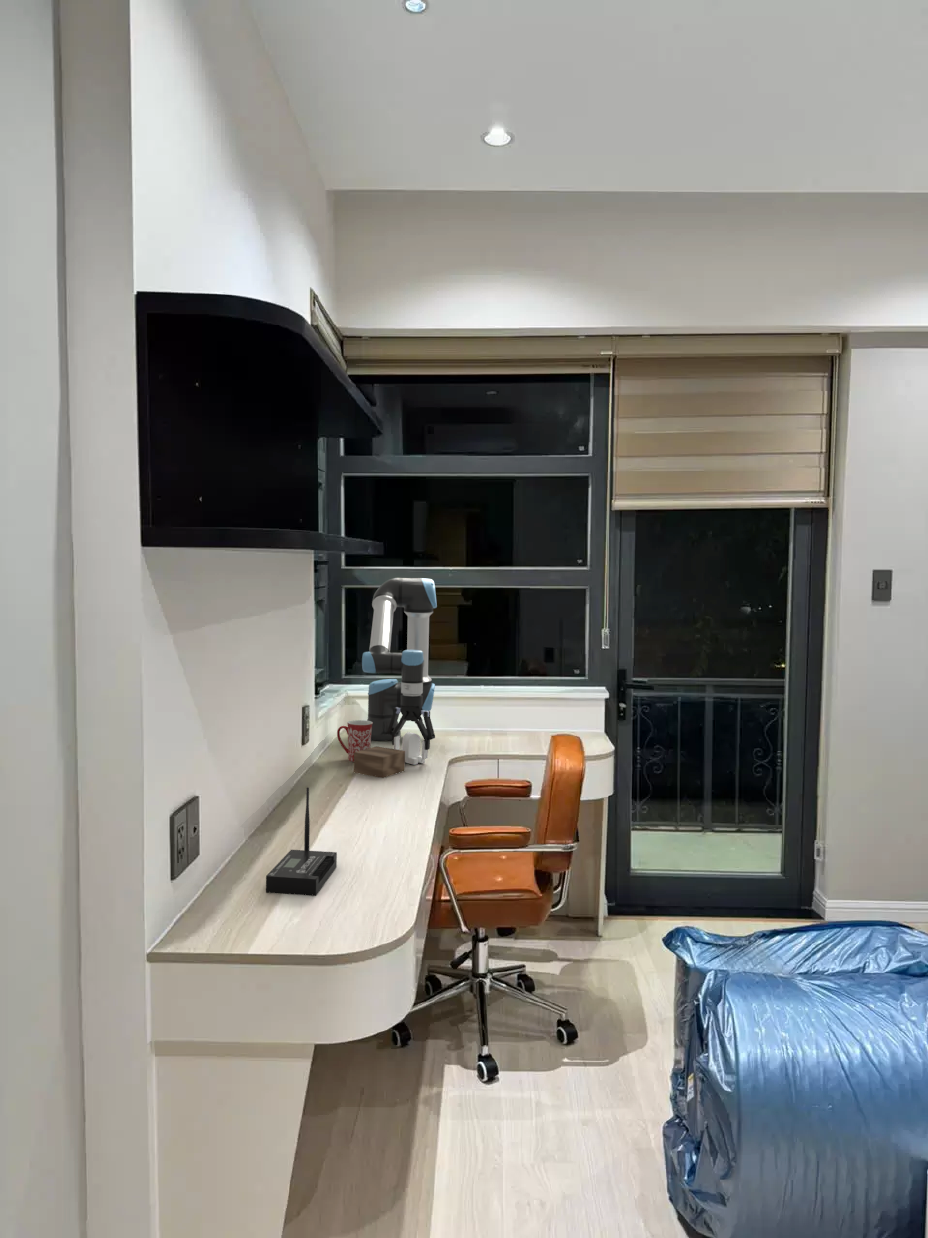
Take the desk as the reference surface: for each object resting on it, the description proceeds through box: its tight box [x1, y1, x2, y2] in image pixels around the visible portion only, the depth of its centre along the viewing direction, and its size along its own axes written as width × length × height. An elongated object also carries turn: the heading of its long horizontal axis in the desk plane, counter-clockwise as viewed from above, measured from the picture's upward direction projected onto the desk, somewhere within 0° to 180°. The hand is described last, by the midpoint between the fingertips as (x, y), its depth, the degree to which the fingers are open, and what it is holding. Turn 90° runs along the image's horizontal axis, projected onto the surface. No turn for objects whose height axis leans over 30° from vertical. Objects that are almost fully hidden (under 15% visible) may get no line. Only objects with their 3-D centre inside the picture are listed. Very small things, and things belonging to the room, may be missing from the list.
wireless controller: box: [265, 786, 338, 897], centre depth 170 cm, size 20×14×17 cm
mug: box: [336, 719, 373, 763], centre depth 279 cm, size 13×9×14 cm
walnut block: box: [353, 745, 406, 779], centre depth 263 cm, size 12×12×7 cm
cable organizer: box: [401, 731, 426, 765], centre depth 277 cm, size 5×10×10 cm, turn 45°
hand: (410, 756), depth 278 cm, fingers closed on cable organizer, 11 cm apart
